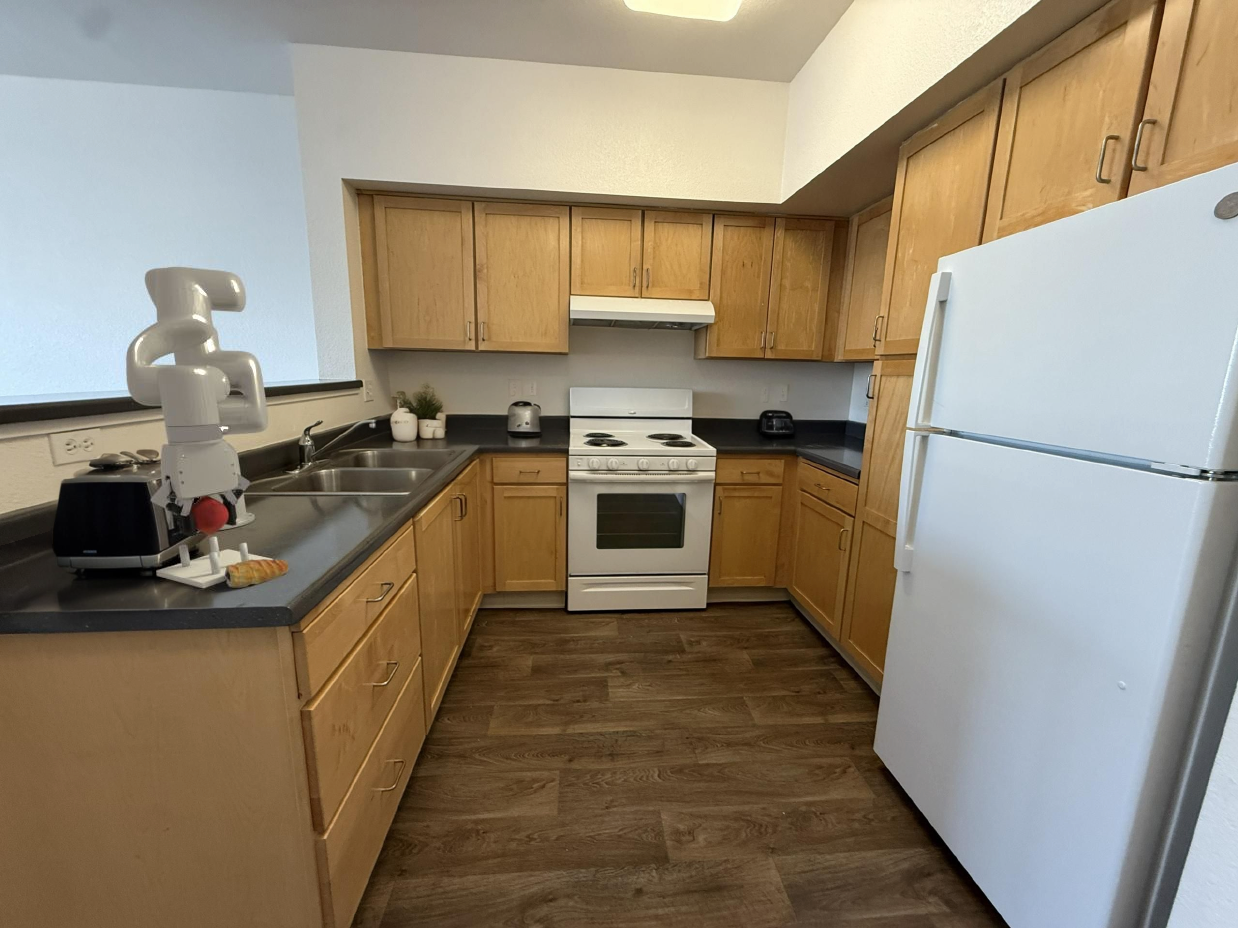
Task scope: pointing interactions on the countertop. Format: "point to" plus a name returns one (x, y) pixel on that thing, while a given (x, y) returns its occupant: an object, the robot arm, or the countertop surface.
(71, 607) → the countertop surface
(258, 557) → the pin tray
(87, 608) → the countertop surface
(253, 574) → the pastry
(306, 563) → the countertop surface
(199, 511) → the onion
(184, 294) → the robot arm
